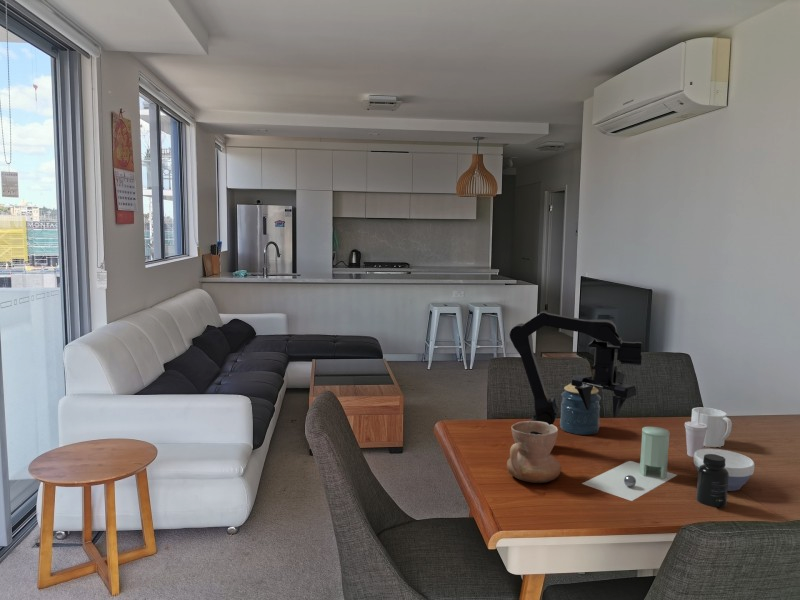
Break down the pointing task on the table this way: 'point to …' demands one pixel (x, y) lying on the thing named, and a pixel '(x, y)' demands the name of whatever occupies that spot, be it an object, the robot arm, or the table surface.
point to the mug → (713, 425)
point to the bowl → (730, 466)
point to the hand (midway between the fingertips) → (601, 413)
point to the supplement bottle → (712, 481)
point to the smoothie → (695, 436)
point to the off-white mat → (616, 486)
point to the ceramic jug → (533, 452)
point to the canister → (579, 412)
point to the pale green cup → (654, 450)
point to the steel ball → (629, 481)
